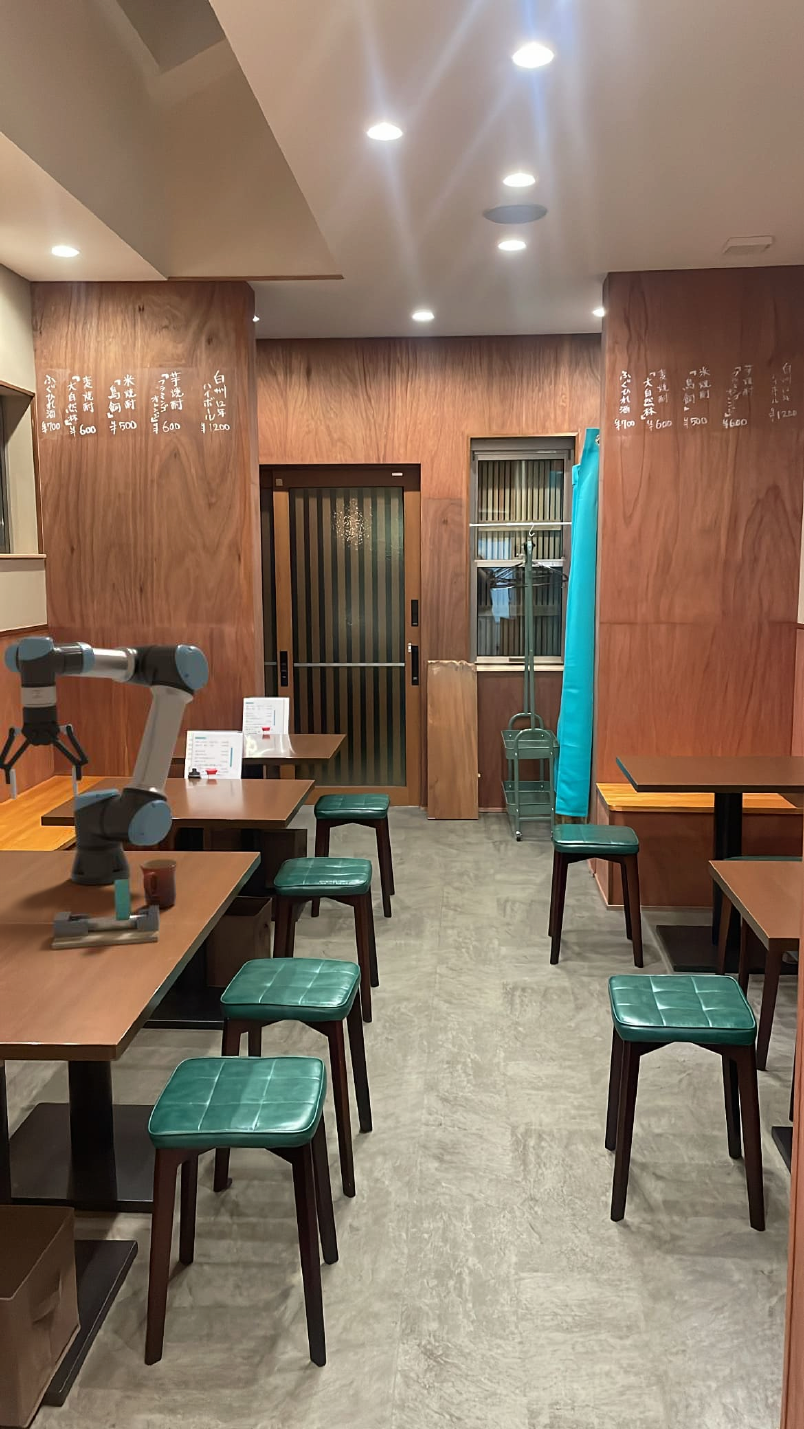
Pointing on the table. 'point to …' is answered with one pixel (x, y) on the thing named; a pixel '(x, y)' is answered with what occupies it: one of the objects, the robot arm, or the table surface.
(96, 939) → the board
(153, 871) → the mug
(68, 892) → the table surface
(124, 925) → the teal and grey t-piece
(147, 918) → the socket
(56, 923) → the bracket
